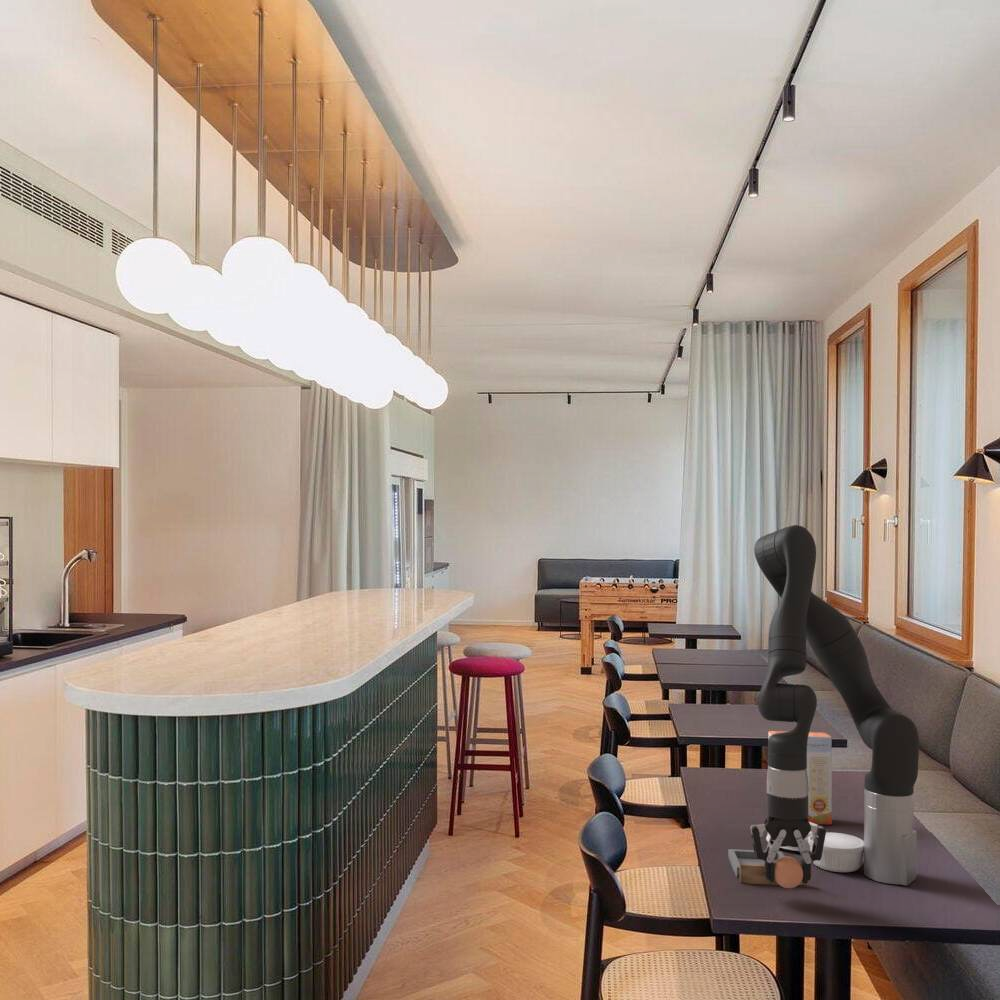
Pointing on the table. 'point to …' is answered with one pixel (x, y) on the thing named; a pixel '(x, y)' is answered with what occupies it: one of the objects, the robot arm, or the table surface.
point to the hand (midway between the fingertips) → (787, 881)
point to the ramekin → (840, 852)
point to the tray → (746, 858)
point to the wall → (754, 874)
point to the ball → (788, 872)
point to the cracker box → (818, 776)
